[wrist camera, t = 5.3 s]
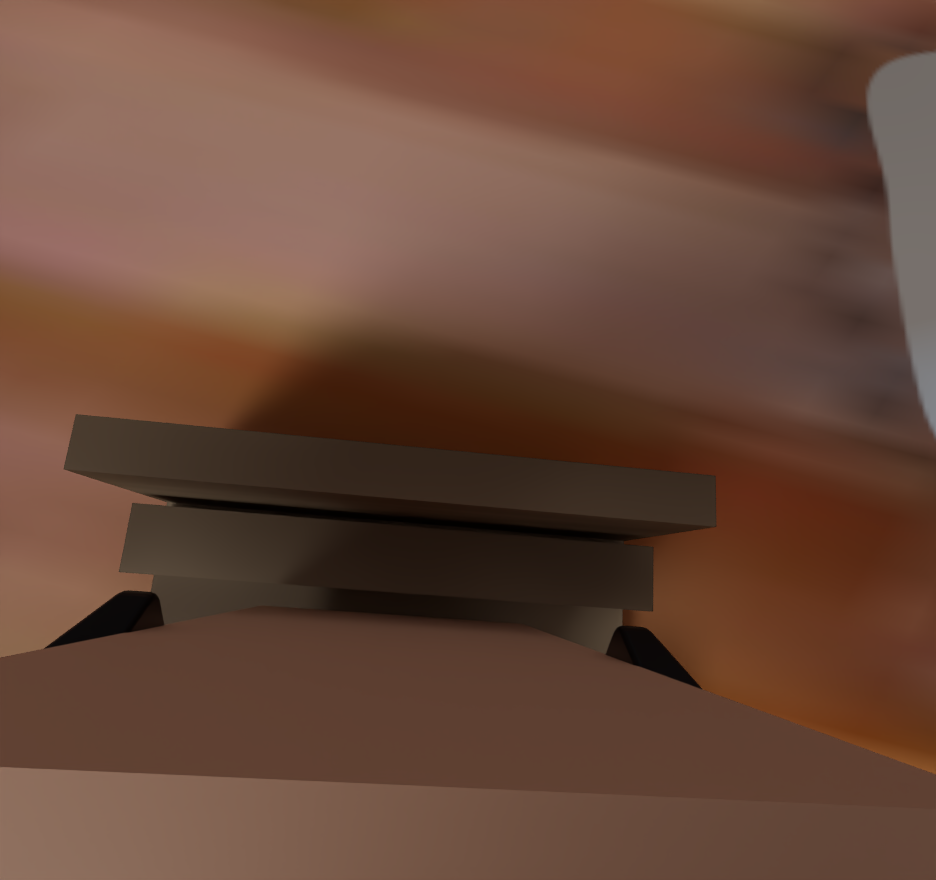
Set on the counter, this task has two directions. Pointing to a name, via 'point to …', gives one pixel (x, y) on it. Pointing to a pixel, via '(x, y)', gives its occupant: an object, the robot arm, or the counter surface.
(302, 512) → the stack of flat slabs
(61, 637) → the robot arm
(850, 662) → the counter surface
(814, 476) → the counter surface
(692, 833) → the beige flat slab
